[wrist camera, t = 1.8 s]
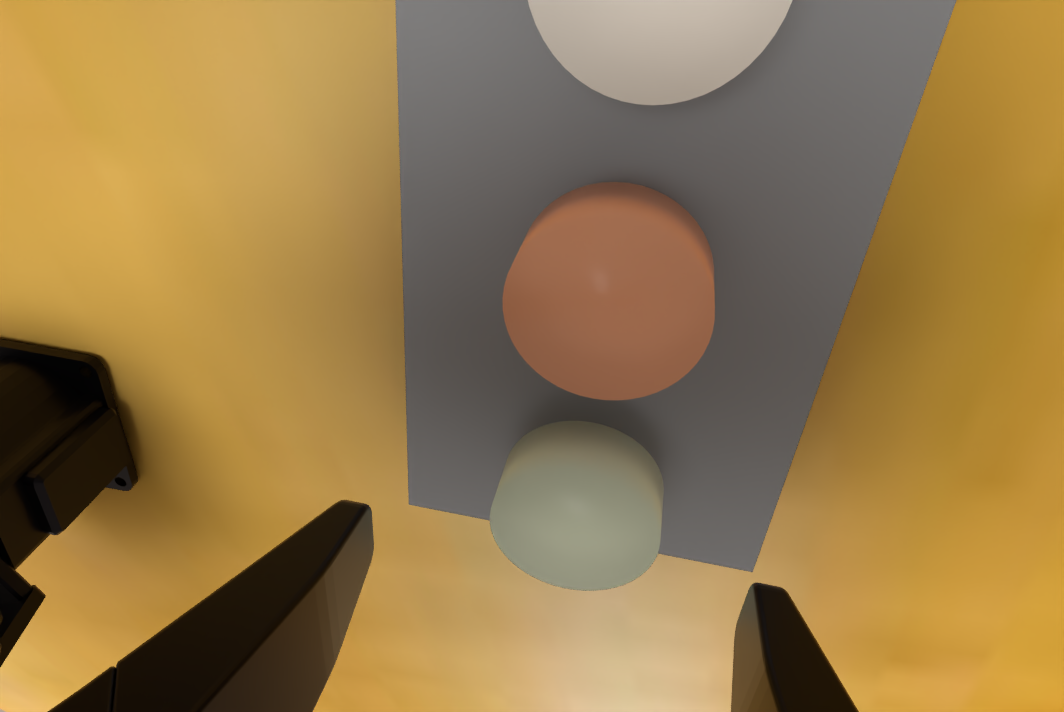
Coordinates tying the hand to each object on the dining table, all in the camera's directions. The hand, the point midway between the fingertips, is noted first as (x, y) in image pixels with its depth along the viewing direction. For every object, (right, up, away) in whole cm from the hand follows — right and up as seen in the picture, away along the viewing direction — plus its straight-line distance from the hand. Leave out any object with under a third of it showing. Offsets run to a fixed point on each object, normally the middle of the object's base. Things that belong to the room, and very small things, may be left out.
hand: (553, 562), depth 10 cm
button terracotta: (+2, +5, +7) cm, 9 cm away
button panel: (+2, +7, +11) cm, 13 cm away
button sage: (+1, -1, +11) cm, 11 cm away
